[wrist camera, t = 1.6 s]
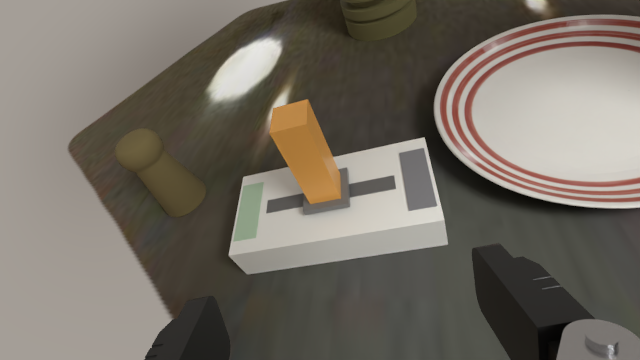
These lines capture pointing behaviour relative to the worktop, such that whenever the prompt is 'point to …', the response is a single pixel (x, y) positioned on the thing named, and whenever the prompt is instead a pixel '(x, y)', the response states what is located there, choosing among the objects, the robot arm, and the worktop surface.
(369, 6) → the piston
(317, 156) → the handle
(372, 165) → the box
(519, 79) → the dinner plate
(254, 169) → the worktop surface
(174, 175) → the olive pawn figure
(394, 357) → the worktop surface
